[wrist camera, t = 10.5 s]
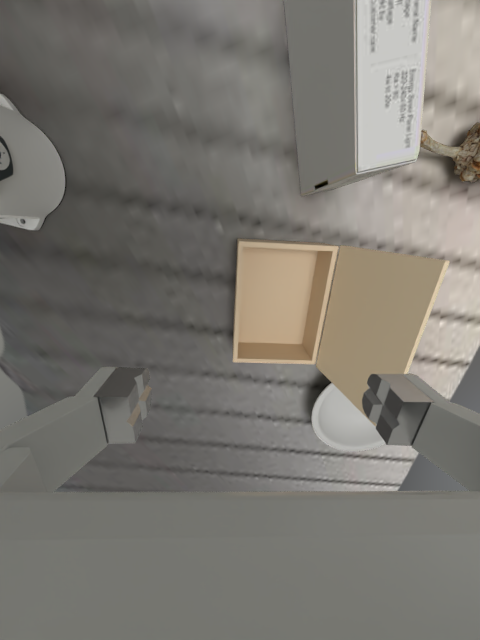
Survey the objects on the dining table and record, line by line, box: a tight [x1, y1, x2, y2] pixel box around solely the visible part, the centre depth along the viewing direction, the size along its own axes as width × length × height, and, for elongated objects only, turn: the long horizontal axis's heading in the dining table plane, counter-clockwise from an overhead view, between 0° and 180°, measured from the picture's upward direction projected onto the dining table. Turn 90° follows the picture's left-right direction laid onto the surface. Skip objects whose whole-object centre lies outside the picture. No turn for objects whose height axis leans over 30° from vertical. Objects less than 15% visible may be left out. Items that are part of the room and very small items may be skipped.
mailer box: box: [233, 238, 339, 364], centre depth 45 cm, size 16×22×8 cm
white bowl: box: [311, 382, 386, 452], centre depth 56 cm, size 24×24×7 cm
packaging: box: [284, 0, 431, 196], centre depth 27 cm, size 30×6×20 cm, turn 11°
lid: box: [316, 245, 450, 427], centre depth 34 cm, size 16×22×1 cm
